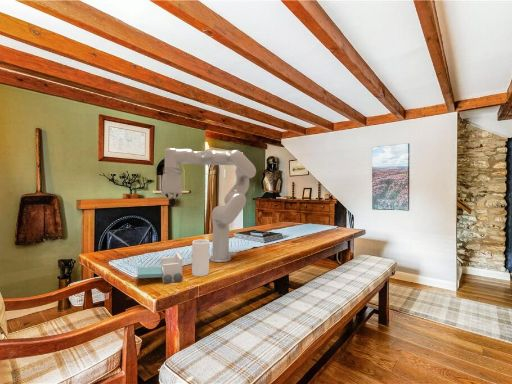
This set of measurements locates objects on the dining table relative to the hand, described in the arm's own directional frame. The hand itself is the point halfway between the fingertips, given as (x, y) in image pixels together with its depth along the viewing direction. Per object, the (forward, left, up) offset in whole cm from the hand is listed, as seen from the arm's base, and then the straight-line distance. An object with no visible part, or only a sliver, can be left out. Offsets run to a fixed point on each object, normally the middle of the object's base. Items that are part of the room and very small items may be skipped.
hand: (171, 206), depth 135 cm
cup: (-12, +17, -32) cm, 38 cm away
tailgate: (+6, +17, -28) cm, 33 cm away
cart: (+2, +17, -32) cm, 36 cm away
